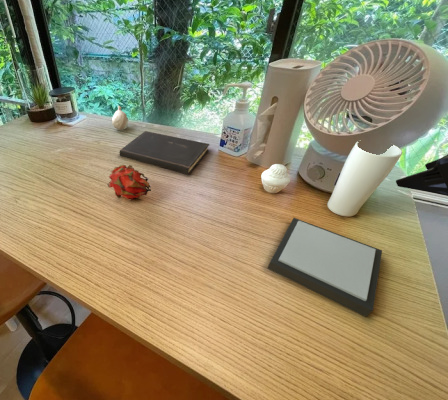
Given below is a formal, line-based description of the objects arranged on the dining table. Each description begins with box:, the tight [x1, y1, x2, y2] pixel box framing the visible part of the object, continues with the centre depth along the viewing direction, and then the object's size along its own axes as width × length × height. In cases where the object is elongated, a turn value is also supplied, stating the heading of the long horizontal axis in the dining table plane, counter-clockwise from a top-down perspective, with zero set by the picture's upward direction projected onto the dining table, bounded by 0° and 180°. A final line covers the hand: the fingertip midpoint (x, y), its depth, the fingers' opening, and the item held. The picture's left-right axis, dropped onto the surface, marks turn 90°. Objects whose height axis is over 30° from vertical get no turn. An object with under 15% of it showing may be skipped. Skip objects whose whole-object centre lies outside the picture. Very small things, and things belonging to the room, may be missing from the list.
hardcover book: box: [119, 130, 210, 176], centre depth 79 cm, size 16×23×2 cm
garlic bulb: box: [111, 105, 129, 131], centre depth 95 cm, size 7×6×8 cm
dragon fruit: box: [106, 164, 152, 202], centre depth 63 cm, size 8×8×12 cm
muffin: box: [260, 163, 291, 194], centre depth 60 cm, size 6×6×7 cm
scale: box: [266, 217, 383, 318], centre depth 45 cm, size 14×14×2 cm
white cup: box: [326, 141, 403, 217], centre depth 51 cm, size 7×7×15 cm
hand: (412, 174), depth 43 cm, fingers open, 9 cm apart
